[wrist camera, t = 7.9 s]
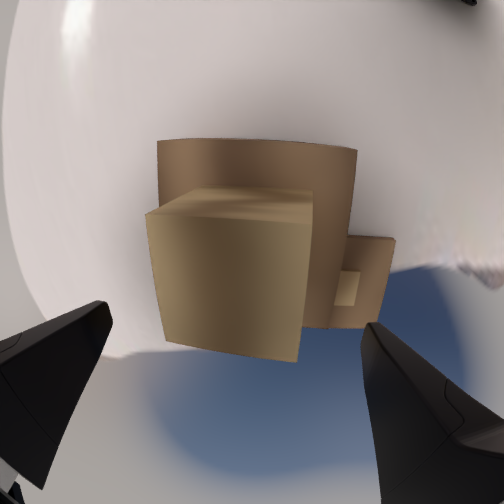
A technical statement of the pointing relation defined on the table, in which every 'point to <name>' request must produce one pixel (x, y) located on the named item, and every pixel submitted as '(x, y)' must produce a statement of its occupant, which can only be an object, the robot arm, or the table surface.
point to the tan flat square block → (275, 176)
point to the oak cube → (233, 268)
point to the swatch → (362, 281)
